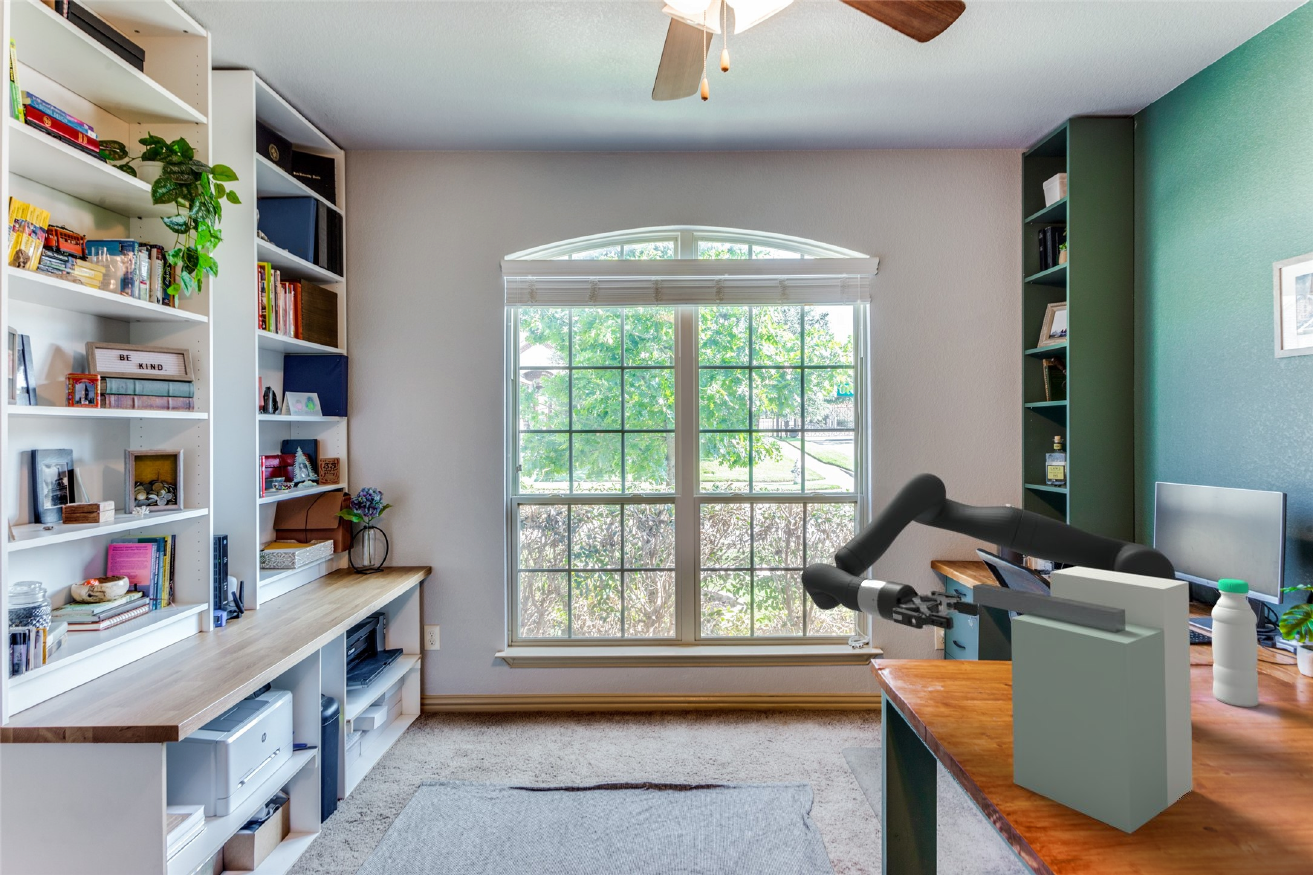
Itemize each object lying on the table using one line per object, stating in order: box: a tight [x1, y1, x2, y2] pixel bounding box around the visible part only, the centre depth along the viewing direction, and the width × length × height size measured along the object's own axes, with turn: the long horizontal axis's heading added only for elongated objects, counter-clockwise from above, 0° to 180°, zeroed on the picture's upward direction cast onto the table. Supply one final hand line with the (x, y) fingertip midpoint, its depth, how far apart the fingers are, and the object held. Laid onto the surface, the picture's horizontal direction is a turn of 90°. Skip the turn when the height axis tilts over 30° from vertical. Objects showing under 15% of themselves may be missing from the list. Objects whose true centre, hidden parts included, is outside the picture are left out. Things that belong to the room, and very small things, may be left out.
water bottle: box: [1211, 578, 1260, 708], centre depth 134 cm, size 7×7×25 cm
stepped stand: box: [1010, 565, 1194, 835], centre depth 101 cm, size 16×21×32 cm
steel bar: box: [972, 583, 1126, 633], centre depth 104 cm, size 22×3×3 cm, turn 32°
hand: (965, 616), depth 115 cm, fingers open, 8 cm apart
